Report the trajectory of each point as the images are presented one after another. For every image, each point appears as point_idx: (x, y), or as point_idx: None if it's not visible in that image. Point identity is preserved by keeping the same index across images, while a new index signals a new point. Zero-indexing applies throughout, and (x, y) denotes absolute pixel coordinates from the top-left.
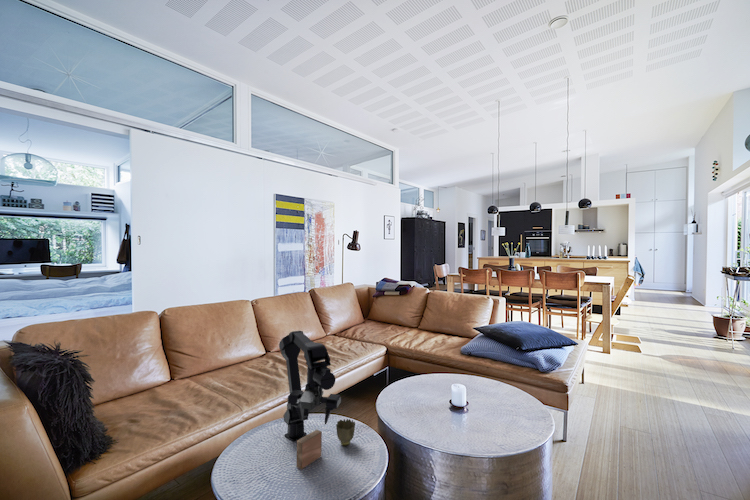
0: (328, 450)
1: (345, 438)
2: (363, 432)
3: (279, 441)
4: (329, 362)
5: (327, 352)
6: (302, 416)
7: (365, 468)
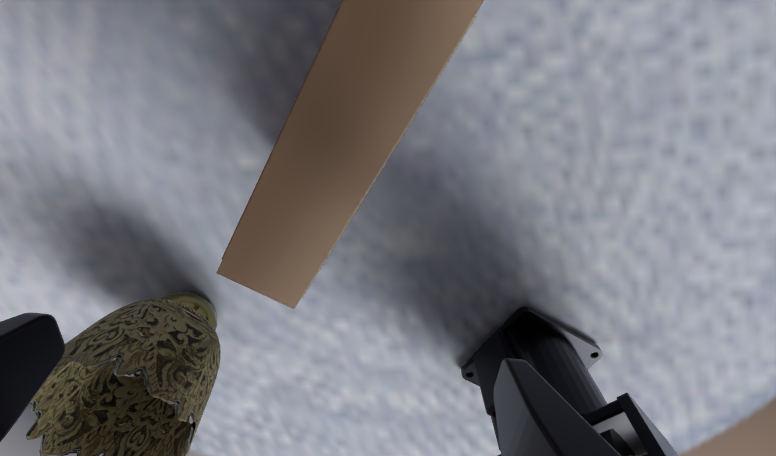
0: None
1: (123, 310)
2: None
3: (623, 299)
4: None
5: None
6: (520, 446)
7: None
